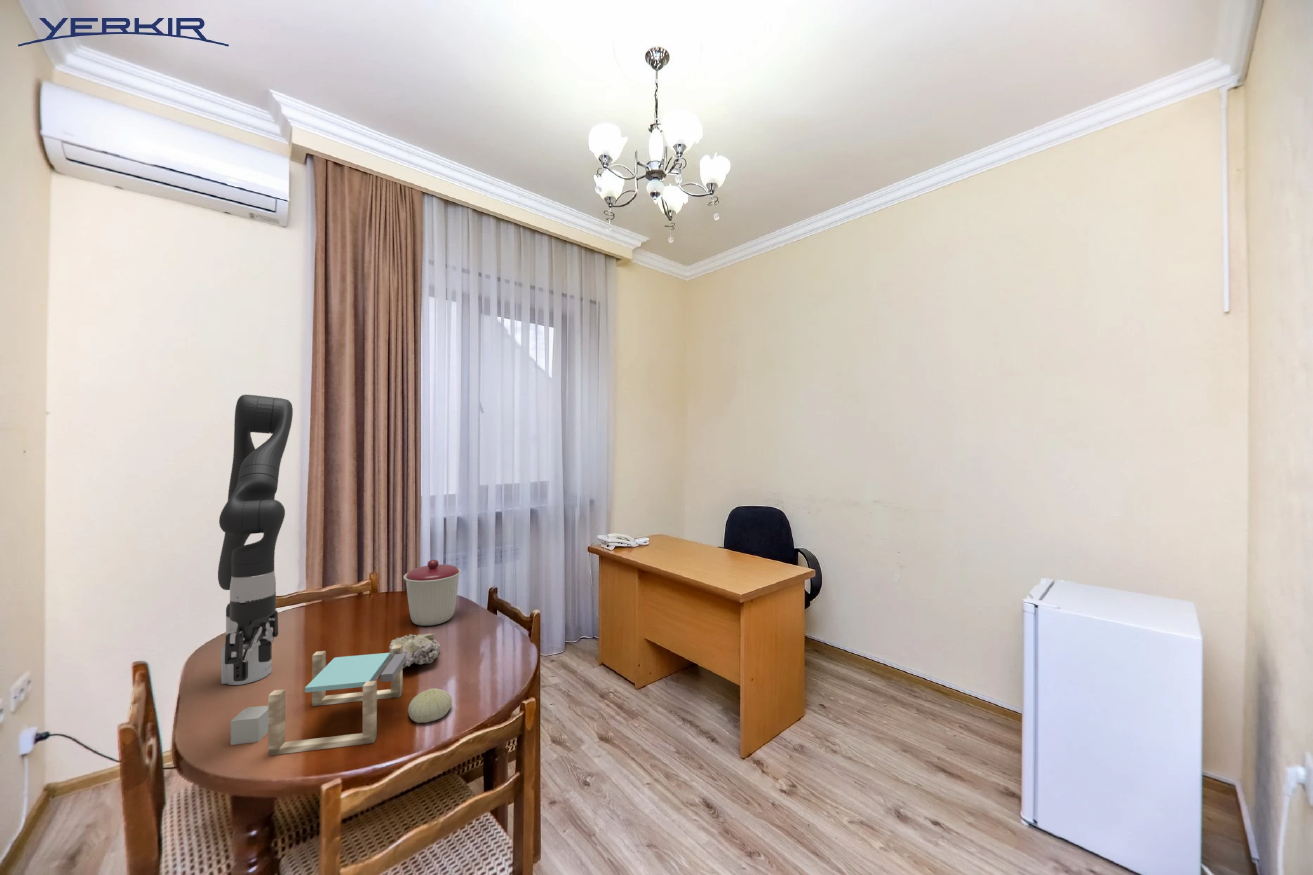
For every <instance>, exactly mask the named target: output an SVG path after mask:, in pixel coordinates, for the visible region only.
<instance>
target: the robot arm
mask: <svg viewBox="0 0 1313 875" xmlns="http://www.w3.org/2000/svg"><path fill="white" fill-rule="evenodd" d="M293 409H294V408H293V404H292V402H291V401H290V400H289V399H285V398H282V397H281V398H280V397H273V396H264V395H255V394H242V395H240V396H239V397H238V399H237V401H236V405H235V411H234V424H233V425H234V426H233V429H234V432H233V436H234V437H233V455H232V456H233V458H232V464H231V465H232V466H231V470H230V471H231V472H230V478H229V486H228V493H227V502H226V503H225V504H224V506H223V508H222V509H221V511H220V515H219V522H218V523H219V524H218V525H219V527H220V529H221V530H222V532H224V537H223V542H222V547H221V552H220V556H219V557H220V558H219V561H218V570H217V580H218V585H219V587H220V588H221V589H222V590H224V591H229V603H228V604H227V606H226V607H225V644H224V645H223V646H221V648H220V649H221V651H220V652H221V653H220V654H221V655H220V656H221V659H220V660H221V662H220V663H221V669H220V670H221V672H220V673H221V676H220V677H221V678H220V680H221V681H220V683H221V685H224V684H226V685H230V686H241V685H246V684H251V683H254V682H257V681H260V680H261V679H264V678H266V677H267V676H269V675H271V673H272V659H273V658H272V657H273V656H272V655H273V653H272V644H273V643H274V641H275V638H277V637H279V615H278V610H277V582H276V573H275V553H276V552H275V551H276V544H277V540H278V536H279V534H280V530H281V528H282V526H283V522H284V519H285V518H286V517H285V516H286V510H285V509H286V508H285V507H284V505H283V504H282V502H280V500H277V499H275V498H276V493H277V490H278V487H279V486H278V485H279V476H280V475H279V474H280V467H281V464H282V463H281V462H282V458H283V455H284V453H285V449H286V446H287V443H288V440H289V435H290V431H291V427H292V422H293V416H294V415H293V413H294V410H293ZM251 433H256V434H271V436H270V437H269V438H268V439H267V440H265V442H263V443H262V444H261V445H259V446H258V447H256V448H255V444H254V442H253V439H252V434H251ZM254 534H263V536H262V538H261V539H259V540H258V541H256V542H252V543H248V544H246V542H247V540H248V539H249V537H250V536H251V535H254Z"/></svg>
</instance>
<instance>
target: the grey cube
mask: <svg viewBox="0 0 1313 875" xmlns="http://www.w3.org/2000/svg"><path fill="white" fill-rule="evenodd" d="M266 735H268V705H259V706H251V707H250V706H249V707H245V708H244V709H243V710H242V711H240V712H239V713H238V714H237V715H235V717H234V718H232V719H231V720H230V745H231V746H234V745H243V744H251V743H260V741H261V740H262V739H263V738H264V737H265V736H266Z"/></svg>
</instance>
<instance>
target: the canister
mask: <svg viewBox="0 0 1313 875" xmlns="http://www.w3.org/2000/svg"><path fill="white" fill-rule="evenodd" d="M461 573H462V569H461V568H459V567H456V566H455V565H451V564H444V563H443V564H439V561H438V560H437V559H430V560H429V561H428V562H427V564H426V565H424V566H420V567H416V568H413V569H411V570H410V571H408V572H406V573H405V574H404V575H403V580H404V581H405V584H406V594H407V602H408V610H409V615H410V619H411V621H412V623H413V624H415V625H417V626H419V627H420V626H421V627H422V626H423V627H428V626H436V625H439V624H443V623H446V622H448V621H450V619H452V618H453V616H454V614H455V609H456V602H457V595H458V586H459V580H460V579H459V578H460V574H461Z"/></svg>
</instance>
